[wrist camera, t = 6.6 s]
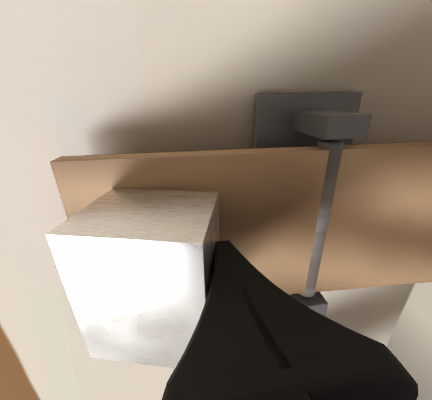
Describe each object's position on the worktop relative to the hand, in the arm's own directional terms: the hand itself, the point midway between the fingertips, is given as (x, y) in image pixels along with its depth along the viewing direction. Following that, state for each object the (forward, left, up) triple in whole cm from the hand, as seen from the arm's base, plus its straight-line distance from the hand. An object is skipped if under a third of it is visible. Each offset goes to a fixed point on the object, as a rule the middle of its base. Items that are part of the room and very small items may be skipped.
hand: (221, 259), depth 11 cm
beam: (0, -6, -2) cm, 6 cm away
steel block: (0, +2, -2) cm, 3 cm away
